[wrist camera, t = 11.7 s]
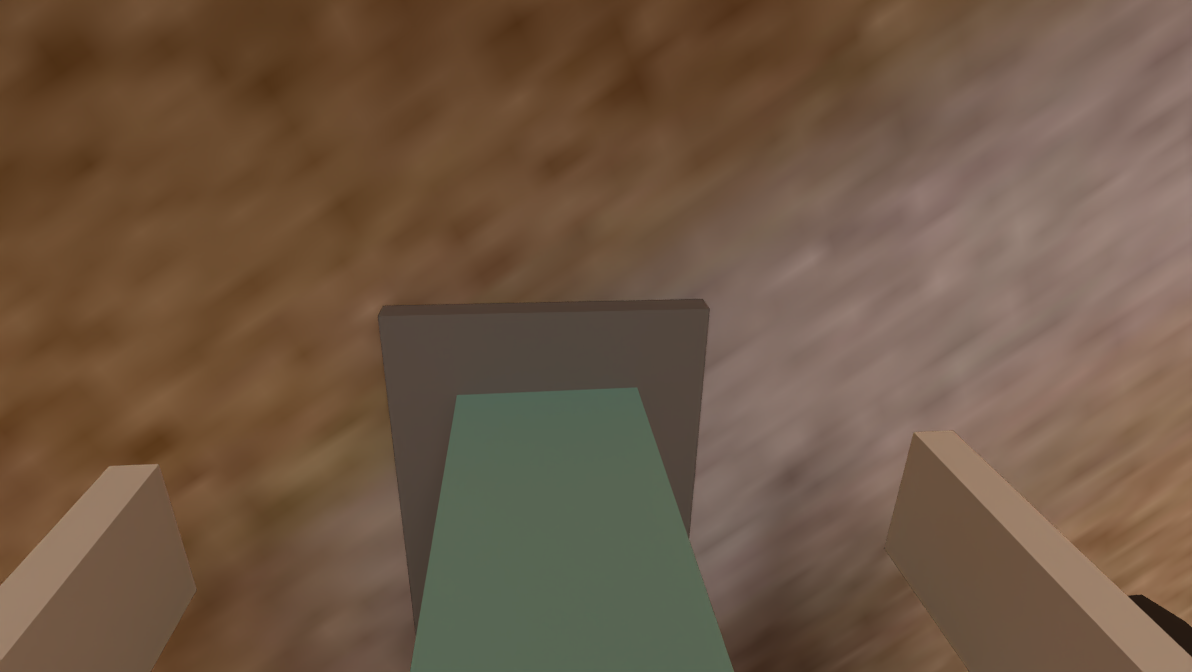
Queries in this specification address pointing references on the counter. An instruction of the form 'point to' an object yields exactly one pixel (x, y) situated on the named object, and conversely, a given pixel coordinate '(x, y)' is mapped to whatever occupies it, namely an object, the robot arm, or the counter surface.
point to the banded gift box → (561, 544)
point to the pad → (534, 383)
